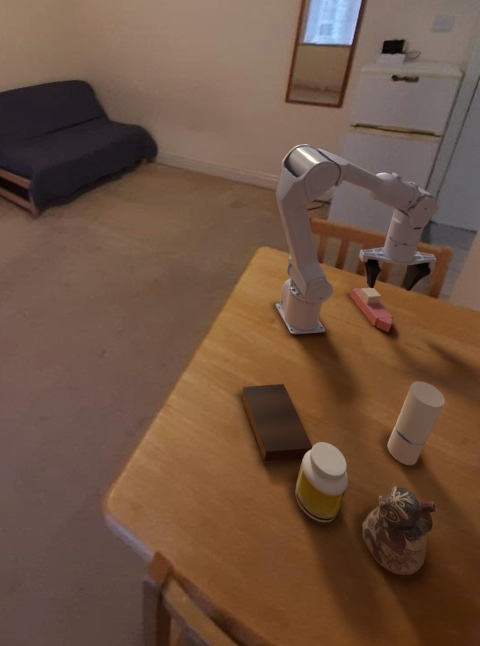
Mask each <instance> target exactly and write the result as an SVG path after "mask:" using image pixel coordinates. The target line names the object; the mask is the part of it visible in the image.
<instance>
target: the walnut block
mask: <svg viewBox="0 0 480 646" xmlns="http://www.w3.org/2000/svg"><path fill="white" fill-rule="evenodd" d="M241 399H242V402H243V405H244V407H245V411H246V414H247V417H248V420H249V422H250V425H251V428H252V431H253V434H254V436H255V441H256V443H257V446H258V448H259V452H260V454H261V457H262V461H263V462H264V463H267V462H268V463H269V462H277V461H278V462H281V461H295V460H303V457H304V455H305V454H306V453H307V452H308V451H309V450H312V447H313V445H312V443H311V441H310V438H309V436H308V433H307V432H306V430H305V427H304V425H303V422H302V421H301V418H300V417H299V414H298V412H297V409H296V408H295V406H294V403H293V401H292V398H291V397H290V395H289V392H288V390H287V388H286V386H285V384H284V383H279V384H263V385H251V386H250V385H249V386H242V393H241Z"/></svg>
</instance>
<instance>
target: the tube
mask: <svg viewBox="0 0 480 646" xmlns="http://www.w3.org/2000/svg"><path fill="white" fill-rule="evenodd" d="M444 404H445V396H444V395H443V394H442V392H441V391H440V390H439V389H438V388H436V387H435V386H434V385H432V384H430V383H428V382H424V381H420V380H419V381H414V382H412V383H411V385H410V387H409V390H408V392H407V394H406V397H405V399H404V402H403V405H402V406H401V410H400V412H399V414H398V417H397V419H396V422H395V424H394V427H393V429H392V432H391V434H390V436H389V439H388V441H387V449H388V452H389V454H390V455H391V456H392V457H393V458H394V459H395V460H396V461H397V462H399V463H401V464H403V465H406V466H413V465H415V464H416V463H417V462H418V459H419V457H420V456H421V453H422V451H423V449H424V447H425V445H426V443H427V440H428V438H429V436H430V434H431V432H432V430H433V428H434V426H435V423H436V422H437V419H438V417H439V415H440V413H441V411H442V409H443V406H444Z"/></svg>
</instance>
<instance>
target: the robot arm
mask: <svg viewBox="0 0 480 646" xmlns="http://www.w3.org/2000/svg"><path fill="white" fill-rule="evenodd" d="M316 149H317V150H316ZM316 149H315V148H314V147H313V146H312V145H310V144H305V143H304V144H303V143H302V144H298V145H295V146H294V147H292V148H291V149H290V150H289V151H288V152H287V154H286V155H285V156H284V157H283V159H281V173H280V177H279V181H278V184H277V187H276V190H275V200H276V204H277V207H278V208H277V209H278V211H279V215H280V220H281V223H282V227H283V231H284V234H285V238H286V239H285V240H286V243H287V246H288V251H289V256H287V261H288V264H287V267H286V272H287V273H286V274H287V275H288V276H289V277H290V278H288V279H287V280H285V282H284V283H283V284H282V287H281V291H280V297H279V303H275V307H276V310H277V312H278V313H279V315H280V317H281V318H282V320H283V323H284V324H285V326H286V328H287V330H288V331H289V333H290V334H291V335H304V334H319V333H325V332H326V329H325V328H324V326H323V325H322V323H321V322H320V320H319V318H320V315H321V311H322V308H323V307H322V306H323V303H325V302H327V301H328V300H329V299H330V298H331V297H332V295H333V294H334V287H333V285H332V283H330V282H329V281H328V280H327V276H326V273H325V272H324V270H323V268H322V266H321V264H320V262H319V258H318V254H317V248H316V245H315V240H314V236H313V232H312V231H313V230H312V227H311V224H310V223H311V222H310V218H309V213H308V209H307V205H309V204H310V203H312V202H313V201H315V200H317V199H318V198H319V197H320V196H322V195H324V194H325V193H326V192H328V191H329V190H330V189H332V188H333V187H340V185H341V184H342V183H343V181H344V182H347V183H349V184H351V185H352V184H353V185H355V186H357V187H360V188H363V189H365V190H367V194H368V196H369V197H370V198H371V199H373V200H375V201H378V202H380V203H382V204H384V205H387V206H389V207H391V208H394V209H393V213H392V217H391V221H390V225H389V227H388V230H387V231H388V232H387V234H386V238H385V241H384V245H383V247H376V248H370V249H360V251H359V255H358V257H359V259H360V260H361V262H362V263H364V267H365V271H366V284H367V285H368V288H374V289H375V285H376V283H377V278H378V277H379V275H380V274H381V272H382V268H381V267H380V263H379V262H384V263H388V264H392V265H397V266H401V267H402V266H403V267H406V271H405V275H404V278H403V282H402V285H403V287H404V289H405V291H407V292H410V291H411V290H412V289H413V288H414V287H415V285H416V284H417V283H418V282H419V281H421V280H423V278H426V277H428V276H429V275H431V272H432V269H431V268H430V267H435V266H436V263H437V258H436V256H435V255H434V254H433V253H429V252H428V253H427V252H421V251H417V249H418V246H419V243H420V240H421V237H422V234H423V231H424V228H425V227H426V226H427V225H428V224H429V222H430V219H431V218H432V217H434V215H436V213H438V211H439V209H440V206H438V202H437V199H436V197H435V196H434V195H433V194H431V193H429V192H428V191H426V190H425V189H423V188H422V187H420V185H419V184H417V183H416V182H413V181H405V180H403V176H401V175H400V174H398V173H396V172H392V173H391V174H390V173H388V172H380V173H377V174H375V173H373V172H371V171H370V170H367V169H366V168H365V169H364V168H363V167H361V166H359V165H357V164H355V163H353V162H351V161H349V160H347V159H345V158H343V157H341V156H339V155H336V154H334V153H332V152H330V151H326V150H324V149H322V148H318V147H317V148H316Z"/></svg>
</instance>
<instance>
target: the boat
mask: <svg viewBox="0 0 480 646" xmlns="http://www.w3.org/2000/svg"><path fill="white" fill-rule="evenodd" d="M349 297H350V298H351V299H352V301H353V302H354V303H355V304H356V305H357V307H358V308H359V309H360V311H361V312H362V313H363V315H364V316H365V317H366V318H367V319H368V321H369V322H370V323H371V324H372V326H374V327H376V328H377V329H380V330H381V331H384V332H386V333H389V331H390V329H391V327H392V324H393V322H394V321H393V320H394V316H393V315H392V313H391V312H390V311H389V310H388V309H387V308H386V307H385V306H384V305H383V303H382V302H381V298H382V295H381V294H380V293H379V292H378V291H377V290H376V288H375V287H374V288H369V287H354V288H351V291H350V294H349Z"/></svg>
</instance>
